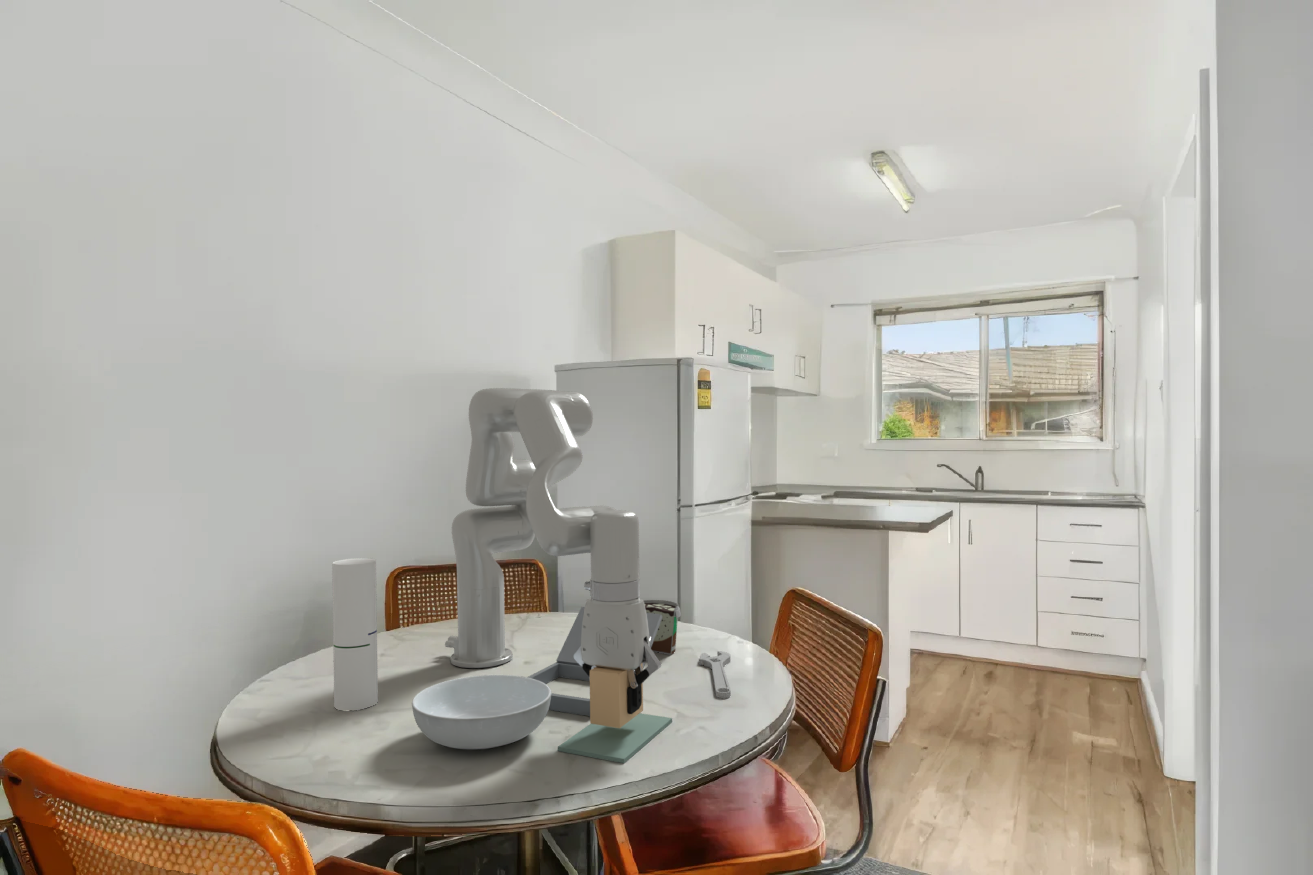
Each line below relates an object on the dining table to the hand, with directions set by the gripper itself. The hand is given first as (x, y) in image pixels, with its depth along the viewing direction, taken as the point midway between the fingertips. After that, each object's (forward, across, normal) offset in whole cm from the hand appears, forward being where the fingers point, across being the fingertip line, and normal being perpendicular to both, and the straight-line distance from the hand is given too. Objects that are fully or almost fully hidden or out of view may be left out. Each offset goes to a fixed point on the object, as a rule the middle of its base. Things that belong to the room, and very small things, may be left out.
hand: (617, 707), depth 118 cm
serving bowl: (+5, -19, -9) cm, 21 cm away
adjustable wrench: (+5, +4, +34) cm, 34 cm away
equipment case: (+4, -16, +19) cm, 25 cm away
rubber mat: (+4, 0, 0) cm, 4 cm away
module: (+1, 0, 0) cm, 1 cm away
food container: (+5, -14, +47) cm, 49 cm away
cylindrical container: (+5, -49, -5) cm, 49 cm away
